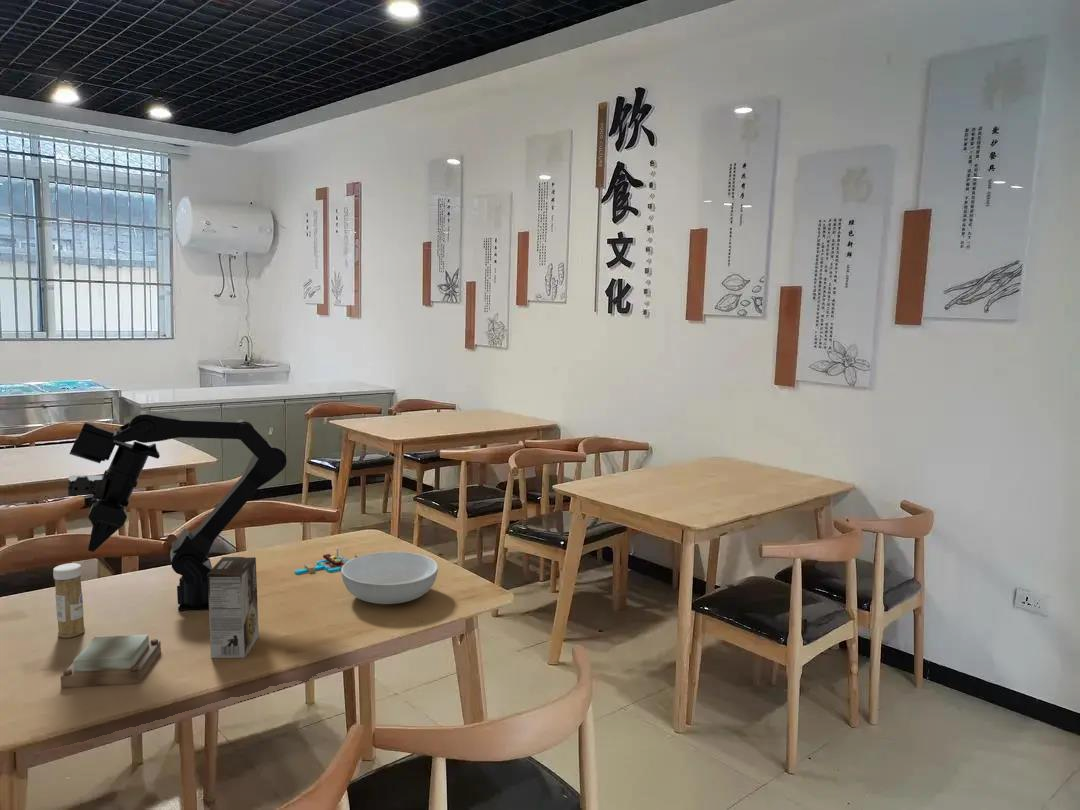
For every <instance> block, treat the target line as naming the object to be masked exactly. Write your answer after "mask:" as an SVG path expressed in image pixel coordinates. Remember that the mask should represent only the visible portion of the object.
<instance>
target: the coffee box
mask: <svg viewBox="0 0 1080 810" xmlns="http://www.w3.org/2000/svg"><path fill="white" fill-rule="evenodd" d="M207 575H208V596H209V609H208V616H209V617H208V618H209V620H208V621H209V641H210V642H209V643H210V645H209V646H210V658H211V659H235V658H236V659H242V658H243V659H244V658H247V655H248V654H249V653H250V651H251V649H252V648H253V646H254V644H255V643H256V642H257V639H258V638H259V635H260V634H259V633H260V631H259V609H258V607H259V606H258V584H257V583H258V581H257V559H256V557H255V556H254V557H250V556H249V557H245V556H223V557H221V558H220V559H219V560H218V562H216V564H215V565H214V566H212V570H211V571H210V572H209V573H208V574H207Z"/></svg>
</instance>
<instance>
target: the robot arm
mask: <svg viewBox="0 0 1080 810" xmlns="http://www.w3.org/2000/svg"><path fill="white" fill-rule="evenodd" d="M179 438H183V439H184V438H186V439H189V438H190V439H217V440H218V439H219V440H221V439H222V440H239V441H241V442H242V444H244V445H245V446H246V448H247V449H248V450H250V452H251V453H252V456H251V458H250V459H249V461H248V463H247V466H246V468H245V469H244V473H243V474H242V476H241V477H240V478H239V479H238V480H237V482H236V483H235V484H233V486H232V487H231V488H230V489H229V491H228V492H227V493H226V494H225V496H224V497H223V498H222V499H221V500H220V501H219V503H218V504H216V506H215V507H214V508H213V510H211V512H210V513H209V514H208V515H207V516H206V518H205V519H204V520H203V521H202V522H201V524H200V525H198V527H196V528H194V529H193V530H191V531H189V530H188V529H187V528H184V529H183V530H182V532H181V534H180V535H179V536H178V537H177V538H176V539H175V540H173V541H172V542H171V549H170V552H169V553H170V554H169V555H170V563H171V568H172V570H173V571H174V573H175V574H177V575H180V578H179V583H178V584H177V585H176V591H177V592H176V593H177V594H176V595H177V605H179V606H178V607H177V611H188V610H189V611H192V610H194V611H196V610H209V596H208V575H207V574H208V573H209V572H210V571H211V570H212V569H213V566H212V563H211V562H212V561H211V559H210V558H209V557H208V555H209V552H210V550H211V548H212V546H213V544H214V542H215V540H216V539H217V537H219V536H220V534H221V533H222V532H223V531H224V530H225V528H226V527H227V525H229V523H231V521H232V520H233V519H234V517H236V515H237V514H238V513H239V512H240V510H241V509H243V507H244V506H245V504H247V502H248V501H249V500H250V498H251V497H253V495H255V493H256V492H257V491H258V489H260V488H261V487H262V486H264V485H265V484H267V483H268V482H270V481H271V480H273V479H274V478H275V477H277V475H279V474H280V473H281V472H283V470H285V468H286V466H287V463H288V461H287V456H286V454H285V451H283V450H282V449H281V448H280V447H279V445H278V444H275V443H274V442H268V441H267V440H266V439H265V438H264V437H263V436H262V435H261V434H260V433H259V432H258V431H257V430H256V429H255V428H254V426H253V425H252V423H251V422H250V421H249V420H247V419H244V418H241V419H215V418H197V417H196V418H193V417H192V418H190V417H189V418H188V417H179V416H174V415H170V414H166V413H161V412H156V411H152V410H139V411H137V412H135V413H134V414H133V415H132V416H131V417H130V419H129V421H128V422H127V423H124V424H123V425H120V426H119V427H117V428H115V429H114V430H113V431H112V430H109V429H106V428H104V427H101V426H98V425H96V424H93V423H91V422H89V421H85V422H84V423H83V425H82V428H81V430H80V432H79V434H78V435H77V436H76V438H75V441H74V442H73V445H72V447H71V450H70V452H69V455H71V456H74V457H77V458H81V459H84V460H88V461H89V462H90V461H91V462H93V463H98V464H101V462H102V461H103V462H106V461H109V460H110V458H111V455H112V453H113V451H114V449H115V446H118V447H117V449H116V452H114V455H113V458H112V460H111V461H110V465H109V466H108V468H107V469H105V471H104V472H103V475H95V474H91V475H89V474H88V475H87V474H85V475H84V474H80V475H74V474H73V475H69V477H68V479H67V496H68V497H77V496H92V499H91V503H92V505H91V507H90V510H89V512H88V517H87V518H88V520H89V521H90V522H91V524H92V526H91V527H92V528H91V532H90V539H89V543H88V547H87V550H88V552H90V553H91V552H96V550H97V549H99V547H100V546H102V545H103V544H104V543H105V542H106V541H107V540H108V539H109V538H110V537H111V536H112V535H114V534H115V533H116V532H117V531H119V529H121V528H122V527H123V526H124V525H125V523H126V521H127V519H128V512H127V509H126V508H128V506H129V503H130V499H131V496H132V494H133V492H134V490H135V488H137V486H138V481H139V479H140V476H141V473H142V471H143V470H144V466H145V464H146V463H147V460H148V458H149V457H151V458H154V459H159V458H160V452H159V451H158V449H157V444H156V443H155V442H163V441H167V440H172V439H179ZM130 442H133V443H132V444H131V443H130ZM147 443H152V444H150V445H147Z"/></svg>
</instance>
